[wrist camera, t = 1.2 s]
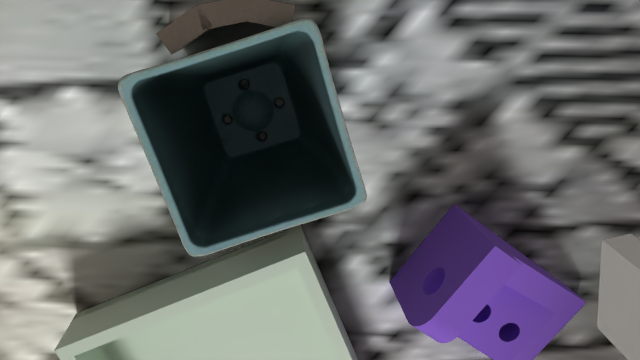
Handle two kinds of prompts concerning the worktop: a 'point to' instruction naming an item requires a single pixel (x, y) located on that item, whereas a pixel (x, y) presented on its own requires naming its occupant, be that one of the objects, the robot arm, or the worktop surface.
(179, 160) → the flower pot
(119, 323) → the pale green square tray
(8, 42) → the worktop surface
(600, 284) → the robot arm
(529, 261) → the bracket
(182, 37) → the holder
